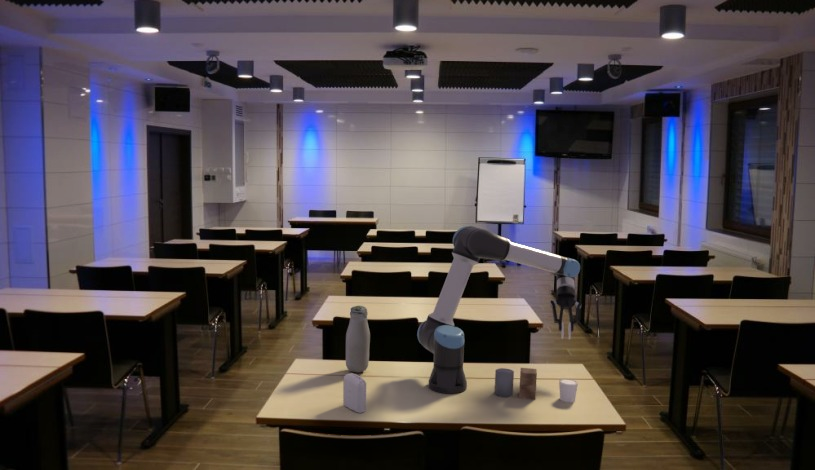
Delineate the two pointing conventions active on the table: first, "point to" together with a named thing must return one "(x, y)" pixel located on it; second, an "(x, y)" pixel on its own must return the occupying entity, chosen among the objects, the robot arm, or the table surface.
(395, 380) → the table surface
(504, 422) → the table surface
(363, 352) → the grey bottle
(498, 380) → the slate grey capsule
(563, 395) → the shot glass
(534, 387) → the walnut block
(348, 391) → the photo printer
